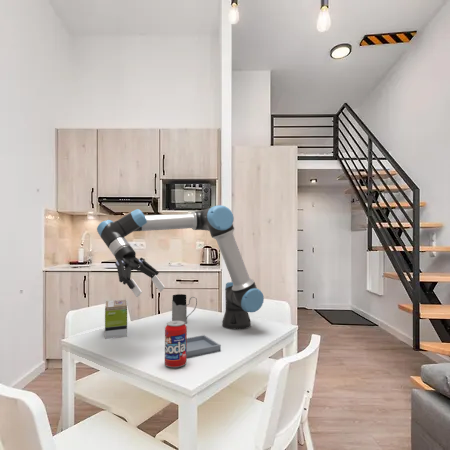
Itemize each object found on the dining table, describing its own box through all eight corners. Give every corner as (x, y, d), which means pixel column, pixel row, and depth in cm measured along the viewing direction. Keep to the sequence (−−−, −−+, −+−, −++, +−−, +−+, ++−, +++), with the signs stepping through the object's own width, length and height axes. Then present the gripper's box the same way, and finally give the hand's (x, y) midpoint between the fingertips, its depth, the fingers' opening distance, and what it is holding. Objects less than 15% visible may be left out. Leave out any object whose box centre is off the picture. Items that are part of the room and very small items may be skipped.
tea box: (105, 330, 150) (105, 300, 151) (126, 328, 154) (126, 299, 155) (104, 339, 136) (105, 306, 137) (127, 336, 140) (127, 304, 141)
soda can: (186, 359, 112) (186, 319, 113) (186, 368, 104) (187, 325, 105) (165, 361, 111) (165, 320, 112) (164, 370, 103) (164, 326, 104)
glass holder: (170, 321, 166) (170, 294, 167) (195, 319, 170) (195, 293, 171) (172, 326, 157) (172, 297, 158) (198, 323, 162) (198, 295, 163)
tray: (204, 340, 134) (204, 335, 134) (220, 351, 121) (220, 345, 121) (172, 346, 126) (172, 340, 127) (186, 358, 113) (186, 351, 114)
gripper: (138, 256, 133) (165, 293, 126) (92, 259, 110) (122, 304, 103) (148, 244, 131) (176, 281, 124) (103, 245, 108) (134, 289, 101)
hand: (151, 291), depth 113 cm, fingers open, 13 cm apart
